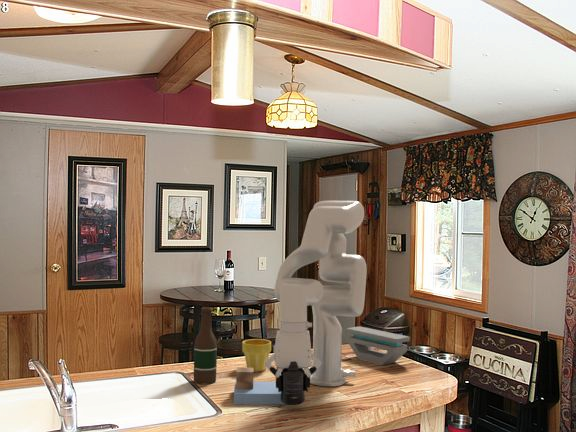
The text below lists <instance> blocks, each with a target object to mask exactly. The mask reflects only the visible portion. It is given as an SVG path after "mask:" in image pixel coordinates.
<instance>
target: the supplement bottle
mask: <svg viewBox="0 0 576 432" xmlns="http://www.w3.org/2000/svg"><path fill="white" fill-rule="evenodd" d="M280 375H281V401H282V403H284V404H283V405H286V406H287V405H288V406H299V405H301V404H303V403H304V402H305V401H306V391H305V370H304V368H299V366H298V364H297V363H296V361H294V362H290V365H289V366H288V368H283V370H282V372H281V374H280Z"/></svg>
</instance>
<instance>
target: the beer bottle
mask: <svg viewBox="0 0 576 432" xmlns="http://www.w3.org/2000/svg"><path fill="white" fill-rule="evenodd" d="M200 311H201V319H200V329H199V332H198V334H197V335H196V338H195V340H194V347H193V348H194V349H193V382H194V383H195V384H197V385H211V384H214V383H216V381H217V362H218V360H217V359H218V358H217V356H218V344H217V339H216V336H215V334H214V333H213V327H212V325H213V324H212V312H213V309H212V307H211V306H203V307H201V310H200Z"/></svg>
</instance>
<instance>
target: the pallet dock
mask: <svg viewBox="0 0 576 432" xmlns="http://www.w3.org/2000/svg"><path fill="white" fill-rule="evenodd" d="M233 405H285V404H284V403H282V401H281V391H280V392H278V388H276V381H253V389H236V381H234V390H233Z"/></svg>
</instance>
